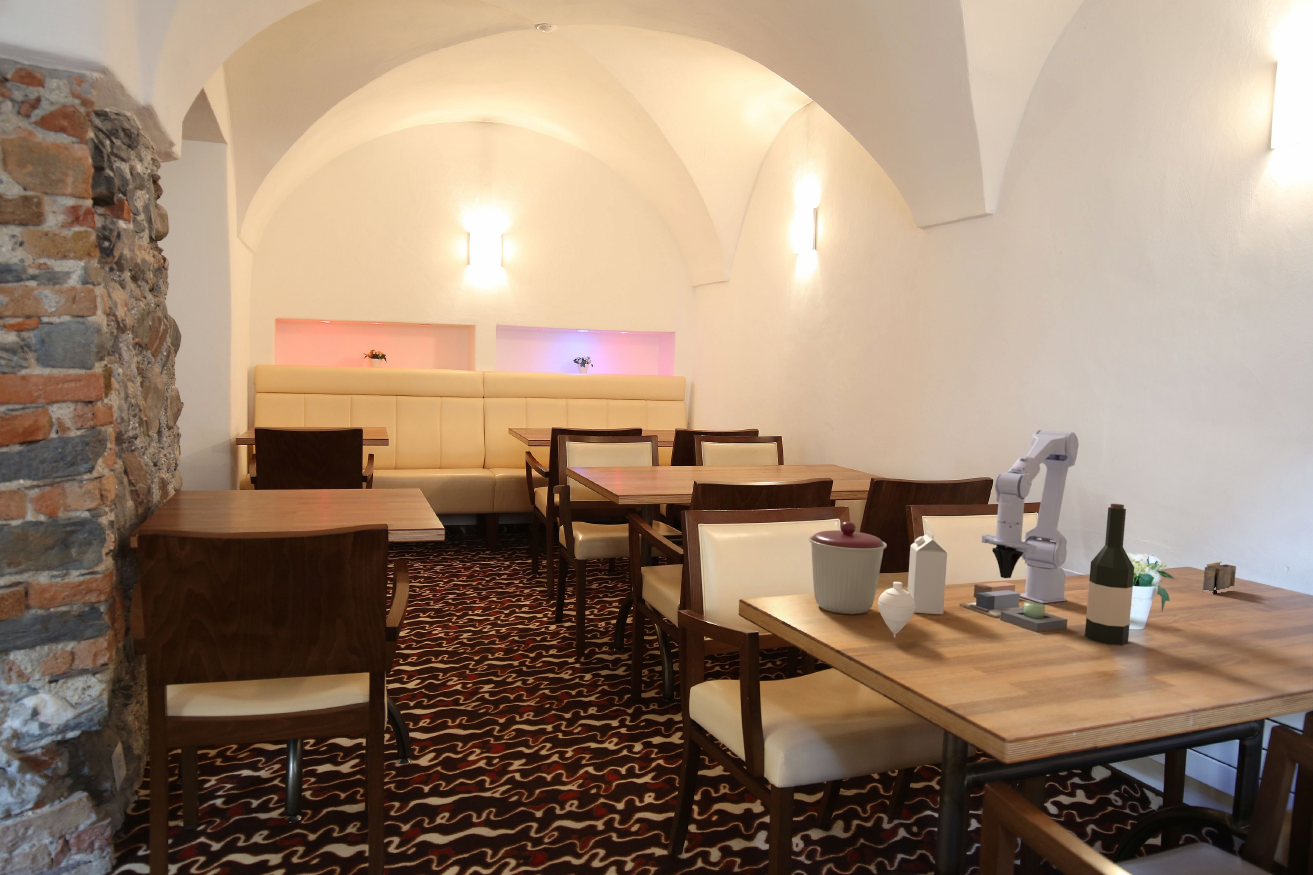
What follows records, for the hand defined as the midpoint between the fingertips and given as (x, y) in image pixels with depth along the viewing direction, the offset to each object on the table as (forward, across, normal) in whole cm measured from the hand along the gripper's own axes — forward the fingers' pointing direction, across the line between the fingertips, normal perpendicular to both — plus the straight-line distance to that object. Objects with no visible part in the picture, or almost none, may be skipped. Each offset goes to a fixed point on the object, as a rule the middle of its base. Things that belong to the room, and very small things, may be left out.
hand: (1005, 577), depth 198 cm
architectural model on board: (+9, +3, +81) cm, 82 cm away
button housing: (+8, +10, -1) cm, 13 cm away
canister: (+9, -14, -38) cm, 41 cm away
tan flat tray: (+8, -2, 0) cm, 9 cm away
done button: (+7, +10, -1) cm, 12 cm away
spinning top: (+9, +8, -41) cm, 43 cm away
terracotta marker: (+8, -11, +9) cm, 17 cm away
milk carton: (+9, -7, -19) cm, 22 cm away
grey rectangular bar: (+8, -2, 0) cm, 8 cm away
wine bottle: (+9, +24, +5) cm, 26 cm away
